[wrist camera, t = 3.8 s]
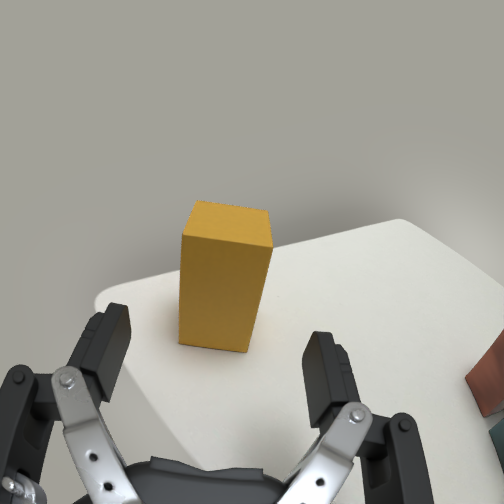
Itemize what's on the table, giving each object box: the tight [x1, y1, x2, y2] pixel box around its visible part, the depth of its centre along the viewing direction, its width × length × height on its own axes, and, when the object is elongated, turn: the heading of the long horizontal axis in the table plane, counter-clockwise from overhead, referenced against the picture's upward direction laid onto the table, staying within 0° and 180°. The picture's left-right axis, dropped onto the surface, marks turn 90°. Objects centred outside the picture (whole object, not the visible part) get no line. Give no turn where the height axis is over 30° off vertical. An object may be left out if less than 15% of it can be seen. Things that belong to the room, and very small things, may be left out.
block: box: [179, 200, 273, 352], centre depth 20 cm, size 5×5×9 cm
